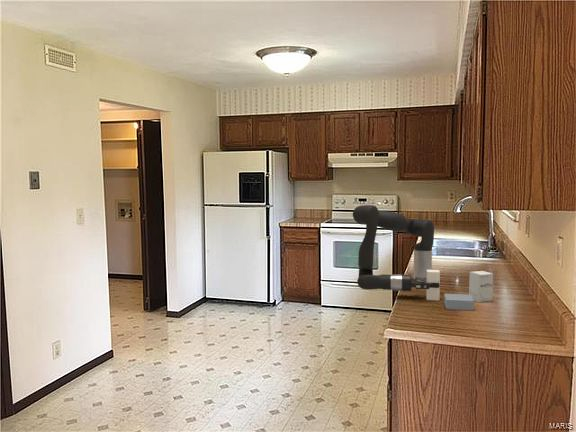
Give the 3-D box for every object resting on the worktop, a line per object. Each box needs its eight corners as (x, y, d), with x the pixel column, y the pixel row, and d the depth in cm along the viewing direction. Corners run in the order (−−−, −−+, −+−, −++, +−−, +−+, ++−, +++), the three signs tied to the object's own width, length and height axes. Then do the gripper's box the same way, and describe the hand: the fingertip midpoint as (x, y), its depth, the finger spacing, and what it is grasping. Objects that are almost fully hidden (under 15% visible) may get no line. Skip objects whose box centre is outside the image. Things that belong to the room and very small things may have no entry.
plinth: (444, 302, 216) (444, 293, 216) (470, 303, 214) (470, 294, 214) (446, 309, 206) (446, 299, 205) (473, 310, 203) (473, 301, 203)
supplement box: (478, 302, 215) (479, 274, 214) (468, 298, 223) (468, 271, 221) (492, 301, 217) (493, 273, 216) (482, 297, 225) (482, 270, 223)
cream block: (426, 296, 226) (426, 269, 225) (438, 297, 225) (438, 269, 224) (426, 300, 221) (427, 271, 220) (439, 300, 219) (439, 272, 218)
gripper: (401, 277, 218) (440, 279, 214) (400, 271, 232) (437, 272, 228) (400, 294, 219) (440, 295, 215) (400, 286, 233) (437, 288, 229)
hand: (438, 283), depth 222 cm, fingers closed on cream block, 5 cm apart
